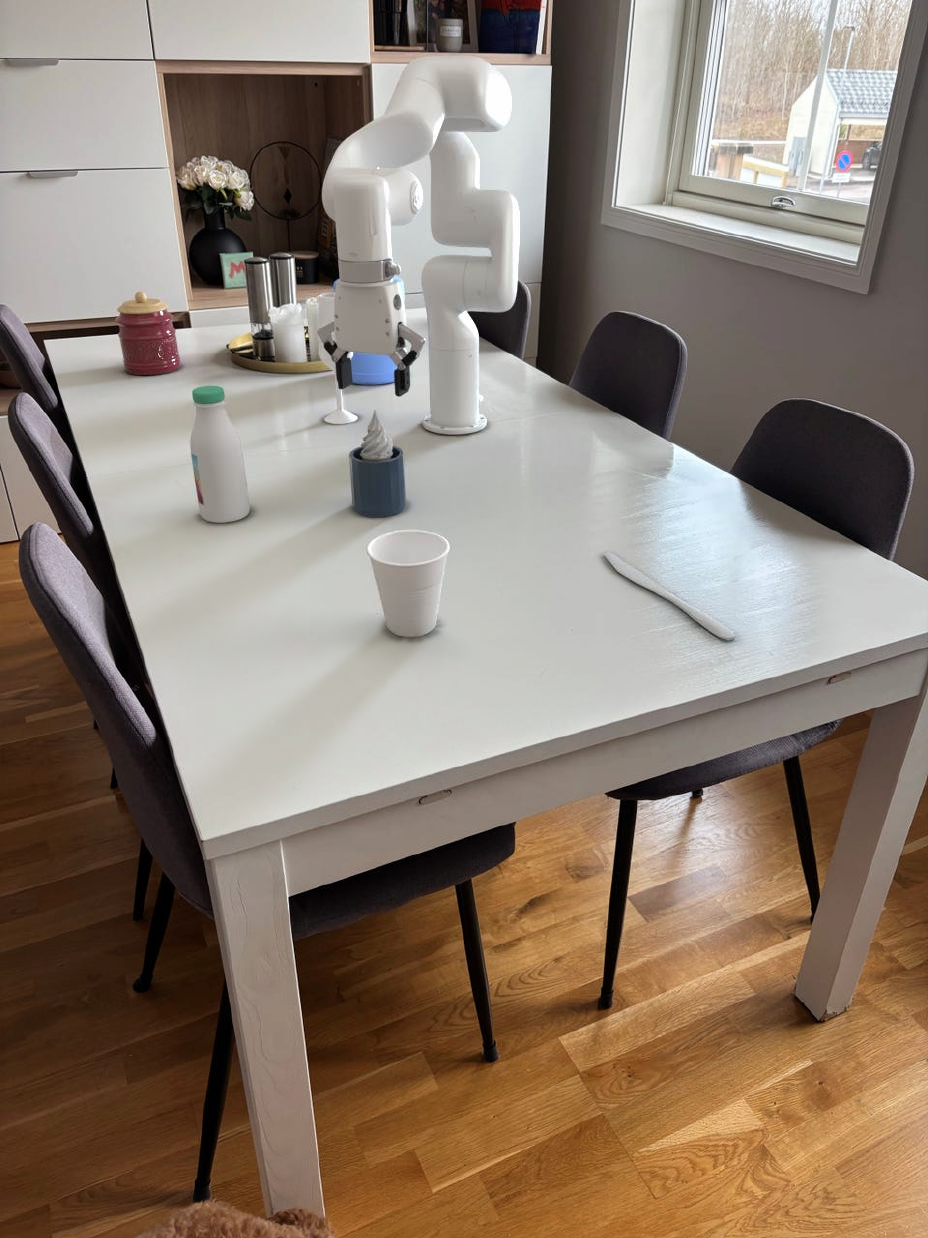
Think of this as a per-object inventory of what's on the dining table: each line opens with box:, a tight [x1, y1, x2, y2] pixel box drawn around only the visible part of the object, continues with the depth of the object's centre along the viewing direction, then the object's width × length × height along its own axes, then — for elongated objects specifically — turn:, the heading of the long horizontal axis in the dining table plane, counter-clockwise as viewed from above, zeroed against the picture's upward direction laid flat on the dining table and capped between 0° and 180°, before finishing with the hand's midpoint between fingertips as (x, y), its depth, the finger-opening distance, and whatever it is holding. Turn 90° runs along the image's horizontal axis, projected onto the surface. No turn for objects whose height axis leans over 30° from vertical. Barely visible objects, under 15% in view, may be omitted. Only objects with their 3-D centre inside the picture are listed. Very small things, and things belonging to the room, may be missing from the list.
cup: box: [365, 529, 450, 638], centre depth 116 cm, size 10×10×11 cm
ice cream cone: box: [360, 410, 394, 462], centre depth 148 cm, size 5×5×15 cm
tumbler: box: [348, 445, 407, 518], centre depth 150 cm, size 8×8×9 cm
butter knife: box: [604, 552, 736, 641], centre depth 125 cm, size 1×27×3 cm
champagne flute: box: [318, 292, 358, 425], centre depth 186 cm, size 7×7×24 cm
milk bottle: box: [189, 385, 251, 524], centre depth 145 cm, size 8×8×20 cm
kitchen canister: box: [114, 291, 181, 376], centre depth 222 cm, size 13×13×18 cm
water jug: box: [332, 275, 407, 386], centre depth 212 cm, size 16×16×28 cm
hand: (373, 390), depth 143 cm, fingers open, 9 cm apart
